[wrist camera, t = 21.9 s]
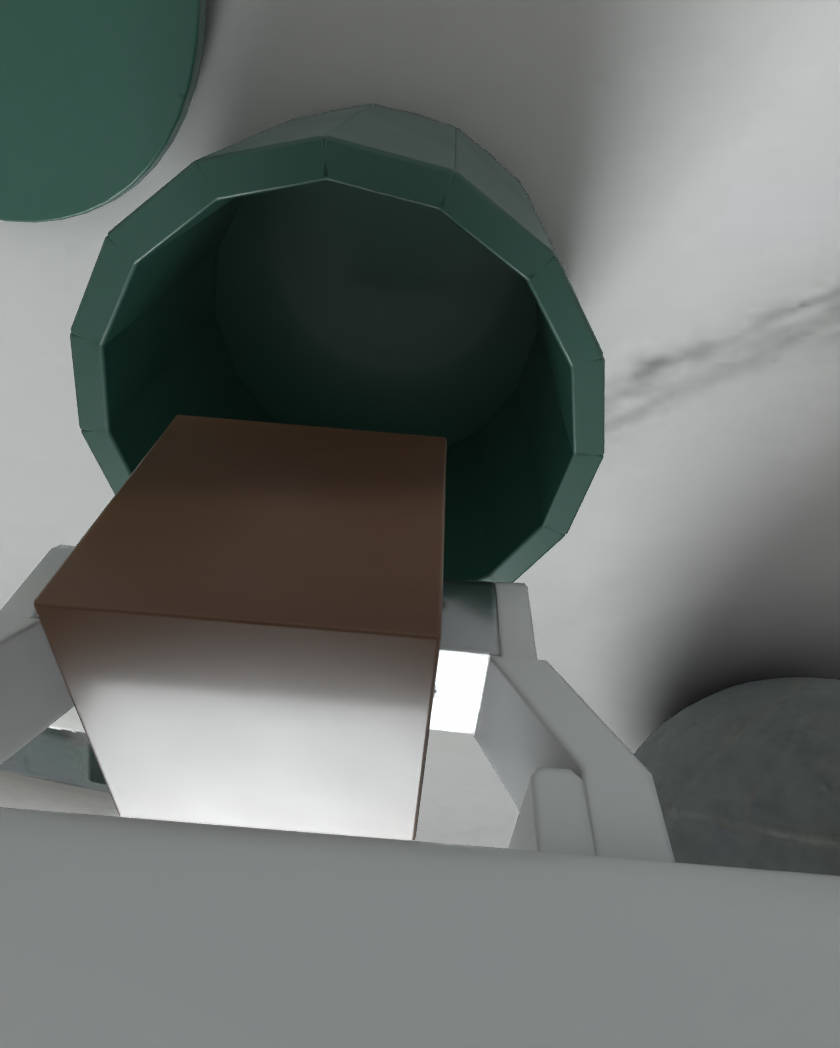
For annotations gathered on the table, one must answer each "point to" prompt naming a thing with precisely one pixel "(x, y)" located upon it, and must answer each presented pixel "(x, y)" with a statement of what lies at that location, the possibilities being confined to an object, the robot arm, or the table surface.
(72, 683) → the block
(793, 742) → the bowl
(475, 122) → the table surface
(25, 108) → the tin lid
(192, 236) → the tin
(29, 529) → the table surface
